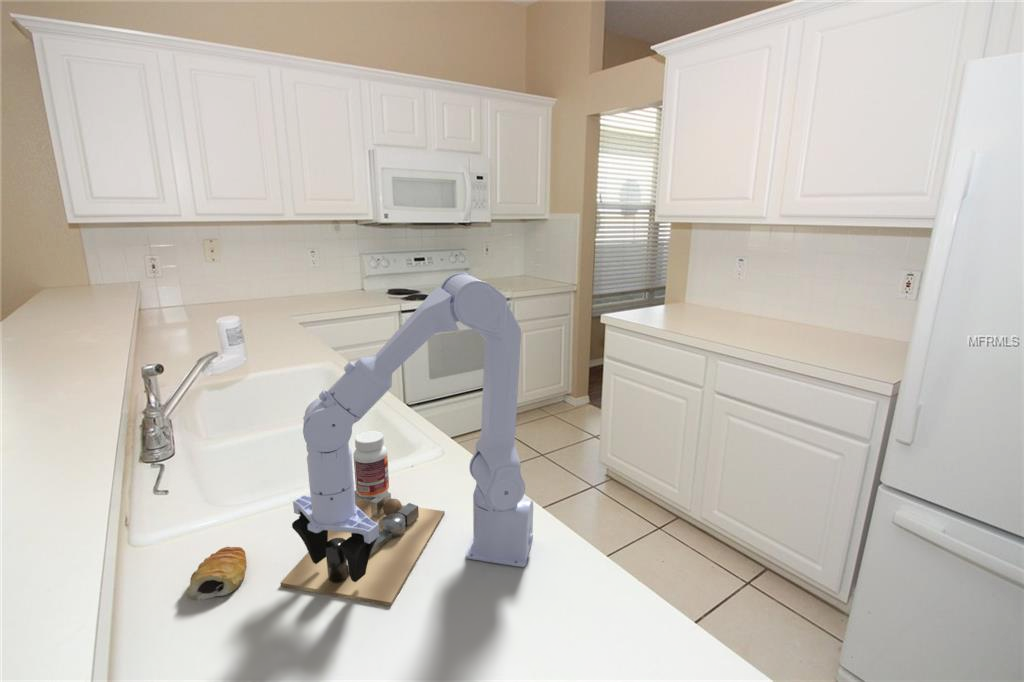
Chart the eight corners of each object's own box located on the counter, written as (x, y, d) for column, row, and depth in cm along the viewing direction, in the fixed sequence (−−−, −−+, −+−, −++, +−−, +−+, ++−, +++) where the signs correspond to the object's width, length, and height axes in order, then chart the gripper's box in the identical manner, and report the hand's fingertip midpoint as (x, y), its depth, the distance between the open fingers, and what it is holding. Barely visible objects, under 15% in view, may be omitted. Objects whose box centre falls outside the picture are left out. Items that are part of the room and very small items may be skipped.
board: (444, 514, 89) (444, 511, 89) (391, 606, 68) (391, 602, 68) (356, 501, 93) (356, 499, 92) (280, 586, 72) (280, 582, 72)
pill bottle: (393, 493, 96) (391, 438, 93) (361, 502, 92) (357, 446, 89) (382, 478, 101) (379, 426, 98) (351, 487, 97) (348, 434, 94)
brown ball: (405, 512, 89) (404, 496, 88) (397, 522, 86) (397, 506, 85) (388, 509, 89) (387, 493, 88) (380, 520, 86) (379, 503, 85)
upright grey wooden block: (385, 505, 90) (384, 491, 90) (391, 508, 90) (390, 493, 89) (371, 516, 87) (370, 501, 87) (377, 518, 87) (376, 503, 86)
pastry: (210, 559, 77) (206, 537, 76) (257, 553, 79) (254, 532, 78) (185, 604, 69) (181, 580, 68) (239, 597, 70) (236, 574, 69)
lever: (406, 512, 88) (404, 485, 87) (422, 518, 86) (421, 491, 85) (322, 577, 72) (319, 545, 71) (339, 586, 71) (337, 553, 69)
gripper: (271, 483, 69) (281, 568, 72) (349, 514, 62) (356, 605, 66) (312, 461, 75) (319, 540, 78) (387, 487, 68) (392, 572, 72)
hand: (339, 568), depth 72 cm, fingers open, 7 cm apart
